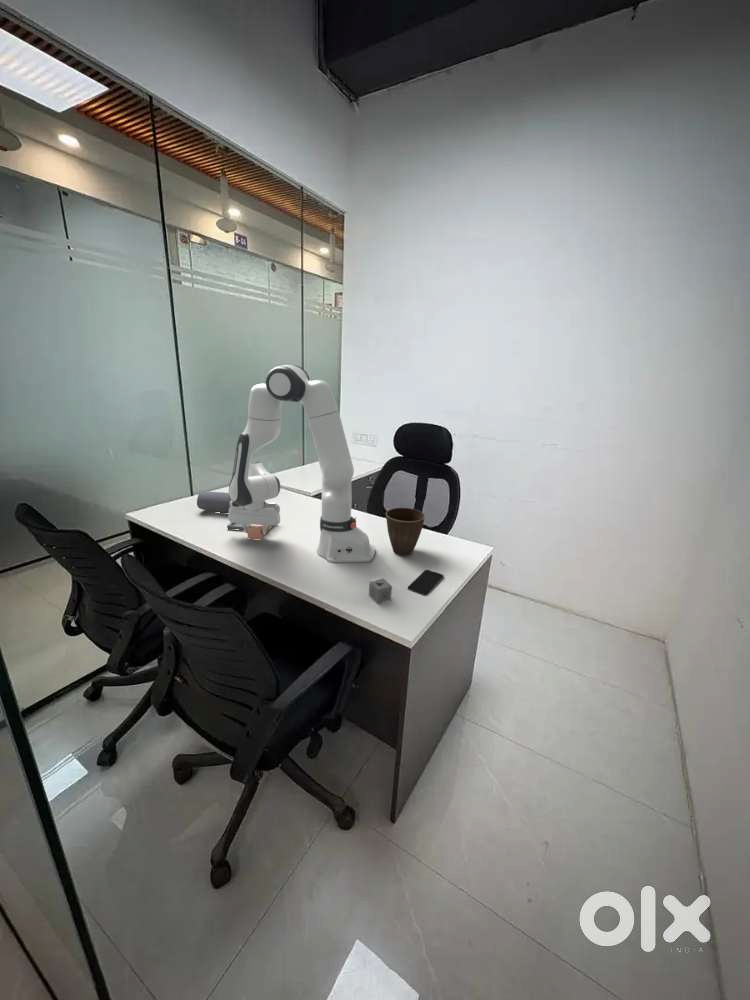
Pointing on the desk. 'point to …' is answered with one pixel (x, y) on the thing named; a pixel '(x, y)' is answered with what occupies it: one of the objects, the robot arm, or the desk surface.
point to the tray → (236, 526)
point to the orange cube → (255, 531)
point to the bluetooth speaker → (214, 501)
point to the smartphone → (425, 582)
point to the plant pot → (404, 529)
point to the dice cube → (380, 590)
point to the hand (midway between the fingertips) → (255, 533)
